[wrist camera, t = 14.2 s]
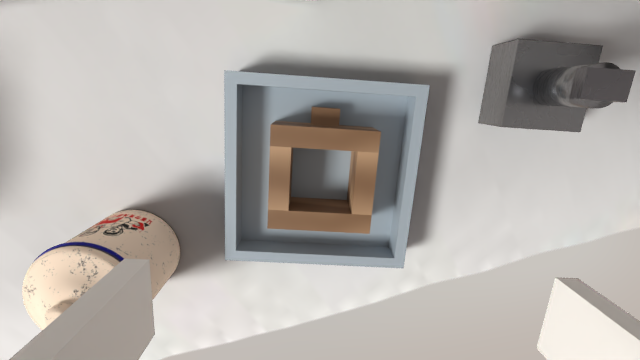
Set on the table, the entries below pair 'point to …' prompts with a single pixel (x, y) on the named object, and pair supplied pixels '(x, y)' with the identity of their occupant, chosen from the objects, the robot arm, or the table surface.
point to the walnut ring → (318, 211)
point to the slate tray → (319, 166)
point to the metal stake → (549, 85)
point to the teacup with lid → (98, 261)
